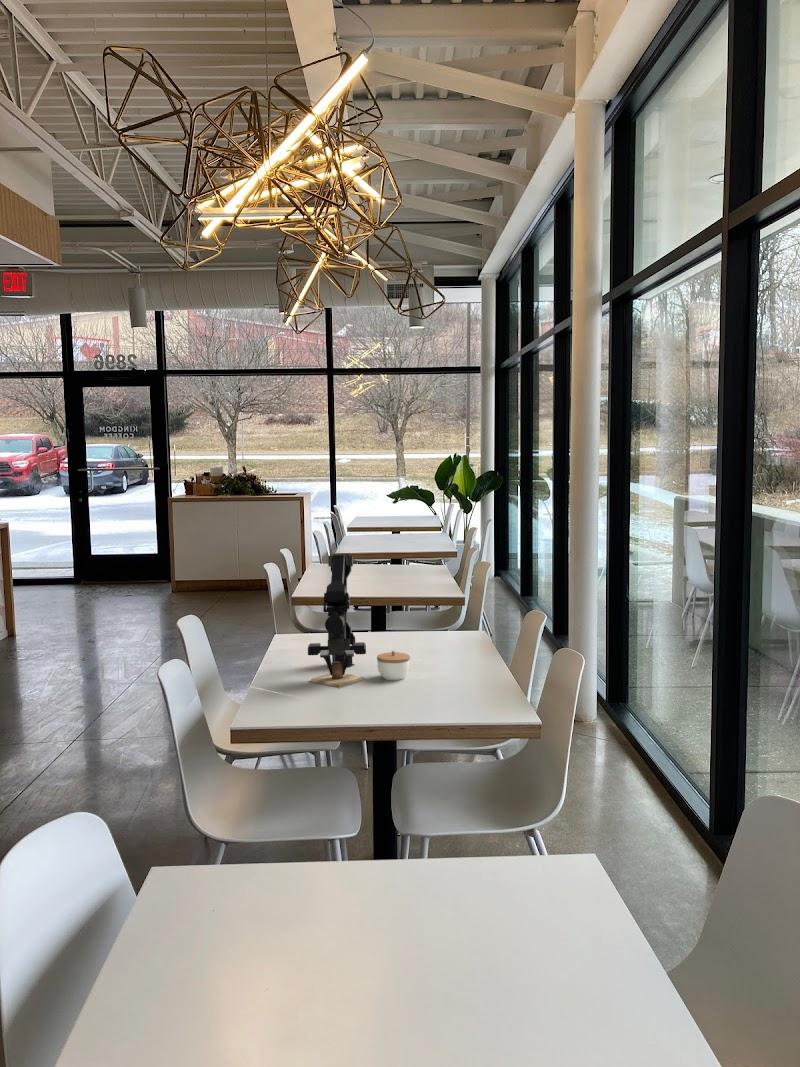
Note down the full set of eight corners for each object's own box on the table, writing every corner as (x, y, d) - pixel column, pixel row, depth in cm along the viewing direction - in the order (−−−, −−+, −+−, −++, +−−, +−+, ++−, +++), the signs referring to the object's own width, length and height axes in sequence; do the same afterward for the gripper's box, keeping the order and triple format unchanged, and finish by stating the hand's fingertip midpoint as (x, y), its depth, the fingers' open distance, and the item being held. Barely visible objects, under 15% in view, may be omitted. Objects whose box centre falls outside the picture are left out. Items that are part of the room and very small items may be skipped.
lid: (311, 681, 289) (311, 663, 288) (335, 673, 298) (335, 656, 298) (339, 687, 281) (339, 669, 281) (363, 679, 291) (363, 661, 290)
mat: (307, 682, 289) (307, 681, 288) (335, 673, 300) (335, 672, 300) (339, 689, 280) (339, 688, 280) (367, 680, 291) (367, 678, 291)
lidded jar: (411, 675, 297) (411, 647, 296) (408, 683, 286) (408, 655, 286) (379, 674, 298) (379, 647, 297) (375, 683, 288) (374, 654, 287)
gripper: (306, 633, 280) (307, 681, 281) (365, 632, 281) (366, 680, 282) (308, 626, 291) (309, 673, 292) (365, 625, 292) (366, 671, 293)
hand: (337, 674), depth 290 cm, fingers closed on lid, 4 cm apart
